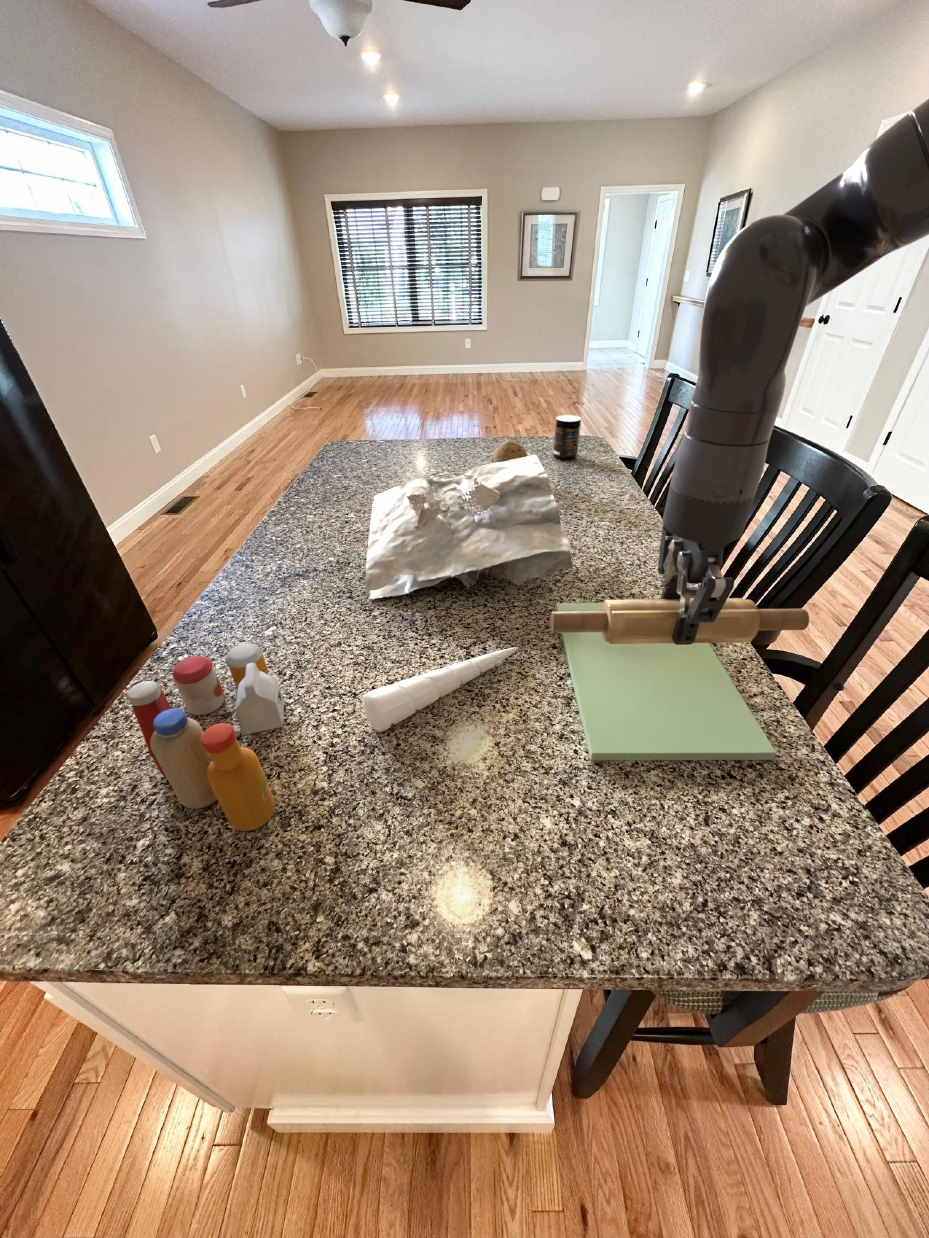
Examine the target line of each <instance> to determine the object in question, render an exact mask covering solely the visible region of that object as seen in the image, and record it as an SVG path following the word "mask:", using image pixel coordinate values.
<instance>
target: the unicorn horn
mask: <svg viewBox="0 0 929 1238" xmlns="http://www.w3.org/2000/svg"><path fill="white" fill-rule="evenodd" d="M519 648H520V647H519V646H514V647H508V648H506V649H505V648H503V649H500V650H496V651H493V652H490V653H487V654H483V655H480V656H477V657H474V658H470V659H469V658H468V659H467V660H463V661H460V662H457V663H453V664H450V665H448V666H444V667H442V668H438V669H434V670H431V671H428V672H426V673H422V674H420V675H418V676H413V677H410V678H407V679H403V680H401V681H398V682H395V683H393V684H388V685H385V686H382V687H379V688H376V689H372V690H369V691H368V692H366V693H365V694H364V695H363V697H362V708H363V711H364V714H365V717H366V719H367V721H368V722H369V724H370V726H371V727H372V728H373V729H374V730H375V731H377V732H379V733H382V732H385V731H386V730H388V729H390V728H391V727H392V725H397V724H399V723H400V722H402V721H404V720H405V719H407V718H408V717H410V716H412V715H414V714H416V712H417V711H421V710H422V709H424V708H426V707H428V706H430V705H432V704H433V703H434V702H437V701H438V700H440V699H439V698H443V697H445V696H447V695H449V694H450V693H452V692H454V691H455V690H457V689H459V688H461V685H462V686H464V685H465V684H467V683H468V682H470V681H472V680H473V679H474V680H475V678H477V677H480V675H481V673H482V674H484V673H486V672H487V671H489V670H490V669H492V668H493V667H495V666H497V665H498V664H499V662H502V661H504V660H506V659H507V658H509V657H510V656H512V655H513V654H514V653H515V652H516V651H518V650H519Z"/></svg>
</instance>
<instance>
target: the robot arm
mask: <svg viewBox="0 0 929 1238" xmlns="http://www.w3.org/2000/svg"><path fill="white" fill-rule="evenodd" d="M927 236H929V98H927V99H926V100H924V102H922V103H920V104H919V105H918V106H916V107H915V108H914V109H912V110H911V112H910V114H909V113H907V114H906V115H904V116H903V117H902V118H900V119H899V120H898V121H896V122H895V123H894V124H893V125H891V126H890V127H889V128H888V129H886V130H885V131H884V132H883V133H881V135H879V136H878V137H877V138H876V139H875V140H874V141H873V142H871V143H870V144H869V145H868V146H867V147H866V148H865V149H864V151H862V153H861V154H860V155H859V157H858V158H857V159H856V160H855V161H854V162H853V164H851V165H850V166H849V167H848V168H846V169H845V170H843V171H842V172H841V173H840V174H838V175H836V176H835V177H834V178H833V179H831V180H830V181H829V182H827V183H826V184H824V185H823V186H821V187H820V188H818V189H817V190H816V191H815V192H813V193H812V194H811V195H809V196H807V197H806V198H805V199H803V200H801V201H800V202H799V203H798V204H796V205H795V206H794V207H792V208H791V209H789V210H787V211H786V212H784V213H783V214H774V215H769V216H763V217H761V218H759V219H756V220H754V221H753V222H751V223H749V224H747V225H745V226H744V227H743V228H742V229H740V231H738V232H737V233H736V234H735V235H734V236H733V237H732V238H731V239H730V240H729V241H728V242H727V244H726V245H725V246H724V248H723V250H722V251H721V253H720V254H719V255H718V258H717V260H716V262H715V265H714V266H713V269H712V273H711V276H710V279H709V282H708V286H707V291H706V295H705V300H704V305H703V312H702V320H701V330H700V341H699V352H698V353H699V354H698V371H697V372H698V373H697V380H696V384H695V387H694V390H693V393H692V396H691V401H690V405H689V411H688V414H687V420H686V423H685V429H684V432H683V437H682V440H681V443H680V445H679V448H678V450H677V453H676V456H675V461H674V466H673V469H672V470H673V471H672V475H671V479H670V484H669V489H668V493H667V497H666V501H665V507H664V511H663V515H662V529H661V537H660V546H659V553H658V554H659V555H658V565H657V574H658V575H662V577H661V580H660V583H661V586H662V591H661V596H660V599H680V608H679V613H678V617H677V621H676V624H675V628H674V632H673V636H672V640H673V642H674V644H676V645H690V644H692V643H694V641H695V638H696V634H697V631H698V628H699V624H700V623H713V622H715V620H716V618H717V616H718V614H719V613H720V611H721V609H722V607H723V606H724V604H725V602H726V600H727V598H730V594H731V593H732V591H733V589H734V587H735V581H734V578H733V577H723V574H722V572H721V570H720V569H721V568H722V565H723V557H724V556H723V555H724V548H725V547H726V546H727V545H729V544H731V542H734V541H736V540H738V539H739V538H740V537H742V535H743V534H744V531H745V528H746V525H747V522H748V519H749V516H750V513H751V510H752V506H753V503H754V500H755V497H756V494H757V491H758V489H759V488H758V487H759V484H760V481H761V478H762V475H763V472H764V468H765V465H766V460H767V453H768V449H769V444H770V439H771V436H772V433H773V430H774V427H775V423H776V420H777V418H778V414H779V411H780V408H781V405H782V401H783V397H784V395H785V388H786V383H787V374H786V367H787V365H788V361H789V358H790V355H791V352H792V349H793V346H794V343H795V340H796V337H797V333H798V330H799V327H800V325H801V322H802V318H803V315H804V313H805V310H806V307H808V306H809V305H811V304H813V303H814V302H815V301H817V300H819V299H820V298H821V297H823V296H825V295H826V294H829V293H831V292H832V291H833V290H836V288H838V287H840V286H841V285H843V284H844V283H846V282H847V281H849V280H850V279H852V278H853V277H855V276H856V275H859V274H860V273H861V272H863V271H865V270H866V269H867V268H870V267H871V265H874V264H875V263H876V262H878V261H879V260H881V259H883V258H884V257H886V256H888V255H889V254H892V253H893V252H895V251H897V250H900V249H903V248H905V247H907V246H910V245H912V244H914V243H915V242H917V241H919V240H922V239H924V238H925V237H927ZM688 584H690V585H697V586H688ZM690 599H693V601H692V603H691V605H690V606H689V601H690Z"/></svg>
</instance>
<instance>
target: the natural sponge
mask: <svg viewBox="0 0 929 1238" xmlns="http://www.w3.org/2000/svg"><path fill="white" fill-rule="evenodd" d="M527 456H528V453H527V450H526V449H525V447H524V446H523V445H522V444H520V443H519V442H517V441H514V440H505V441H503V442H501V443H500V444H499V445H498V446H497V447H496V448H495V450H494V451H493V454H492V456H491V458H490V464H491V463H496V462H504V461H508V460H511V459H517V458H522V457H527Z"/></svg>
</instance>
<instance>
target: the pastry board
mask: <svg viewBox="0 0 929 1238" xmlns="http://www.w3.org/2000/svg"><path fill="white" fill-rule="evenodd" d="M603 603H604V602H555V607H554V612H561V611H601V609H602V605H603ZM560 637H561V640H562V646H563V649H564V653H565V657H566V661H567V666H568V670H569V674H570V679H571V683H572V687H573V691H574V697H575V699H576V704H577V707H578V712H579V717H580V721H581V725H582V730H583V734H584V739H585V742H586V747H587V750H588V755H589V759H590V761H773V760H774V759H775V757H776V755H777V751H776V750H775V748H774V746H773V745H772V743H771V742H770V740H769V738H768V737H767V735H766V734H765V732H764V730H763V729H762V727H761V725H760V724H759V722H758V720H757V719H756V716H754V714H753V712H752V711H751V709H750V708H749V706H748V705H747V702H746V701H745V699H744V698H743V695H741V692H740V691H739V690H738V688H737V687H736V685H735V683H734V682H733V680H732V678H731V677H730V675H729V674H728V671H727V670H726V668H725V667H724V665H723V664H722V662H721V660H720V658H719V657H718V655H717V654H716V652H715V651H714V649H713V647H712V646H711V643H692V644H690V645H676V644H674V643H652V644H609V642H605V641H604V640H603V637H602V633H601V632H576V633H560Z"/></svg>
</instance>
